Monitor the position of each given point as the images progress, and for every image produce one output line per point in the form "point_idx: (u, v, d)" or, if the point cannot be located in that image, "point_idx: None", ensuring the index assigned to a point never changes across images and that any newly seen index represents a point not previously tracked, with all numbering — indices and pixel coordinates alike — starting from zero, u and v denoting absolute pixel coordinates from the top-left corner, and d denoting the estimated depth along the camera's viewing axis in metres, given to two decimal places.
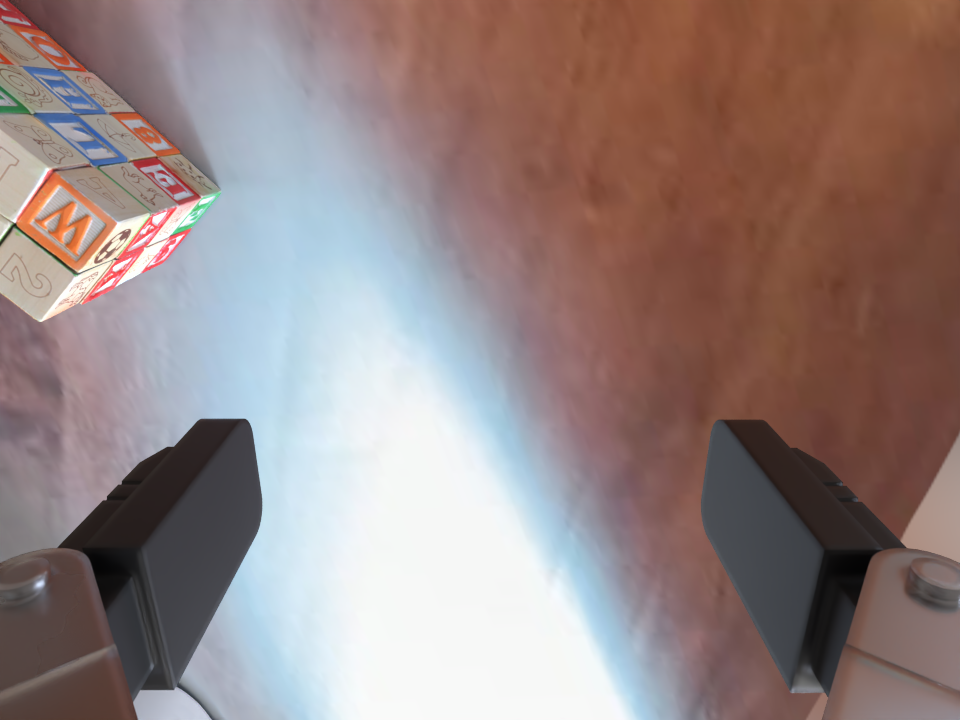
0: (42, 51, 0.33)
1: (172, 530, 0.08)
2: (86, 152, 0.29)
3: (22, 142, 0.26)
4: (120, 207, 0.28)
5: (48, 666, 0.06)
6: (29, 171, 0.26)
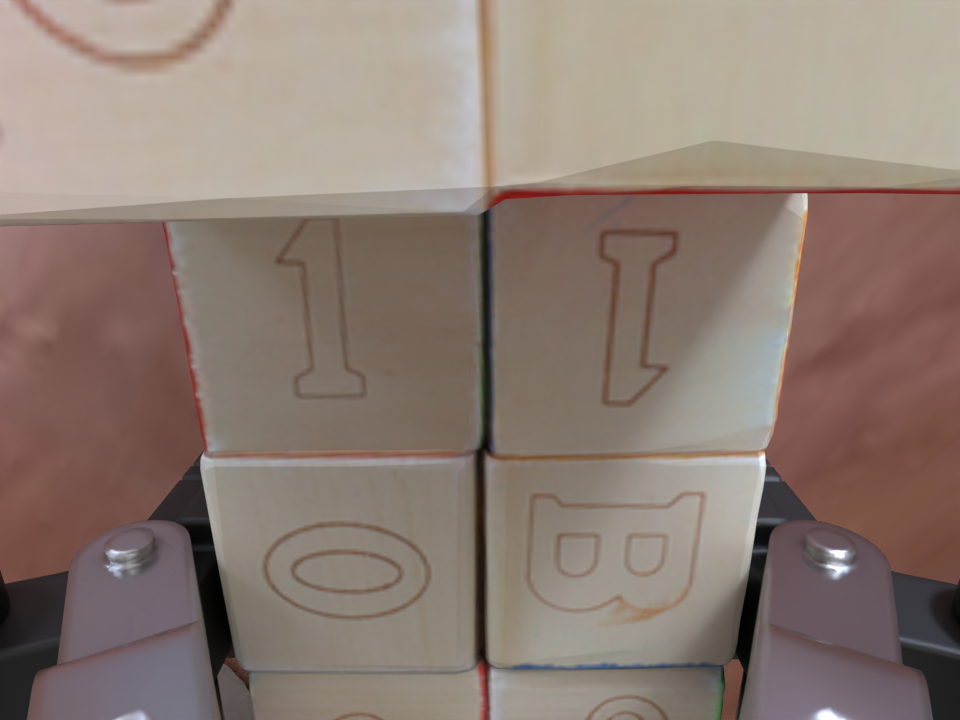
0: None
1: None
2: None
3: None
4: None
5: (143, 633, 0.06)
6: None
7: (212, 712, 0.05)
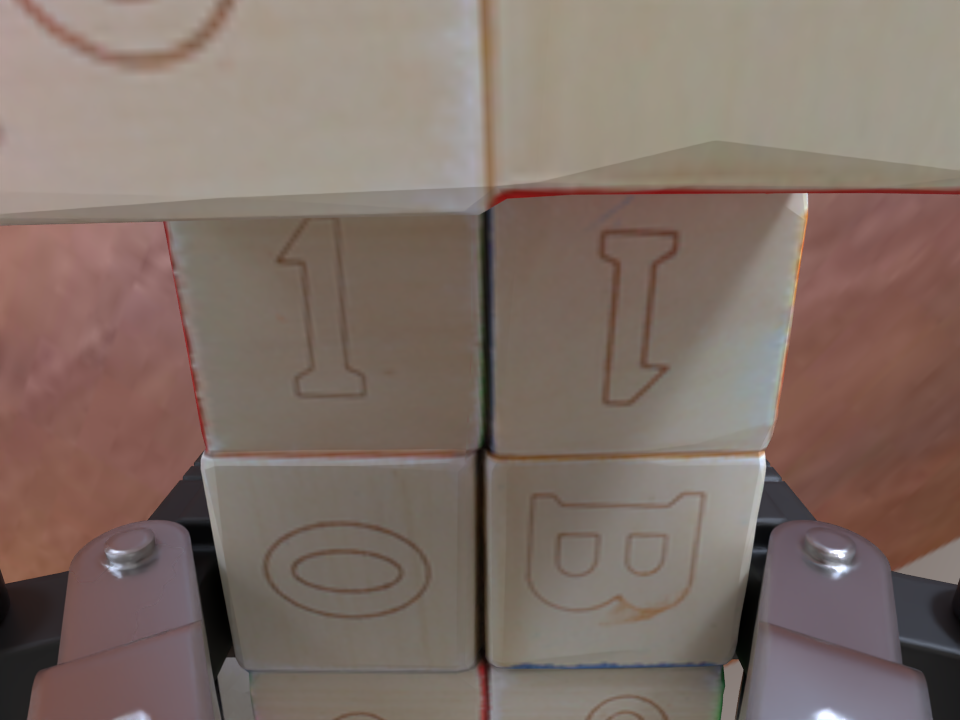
0: None
1: None
2: None
3: None
4: None
5: (143, 633, 0.06)
6: None
7: (212, 712, 0.05)
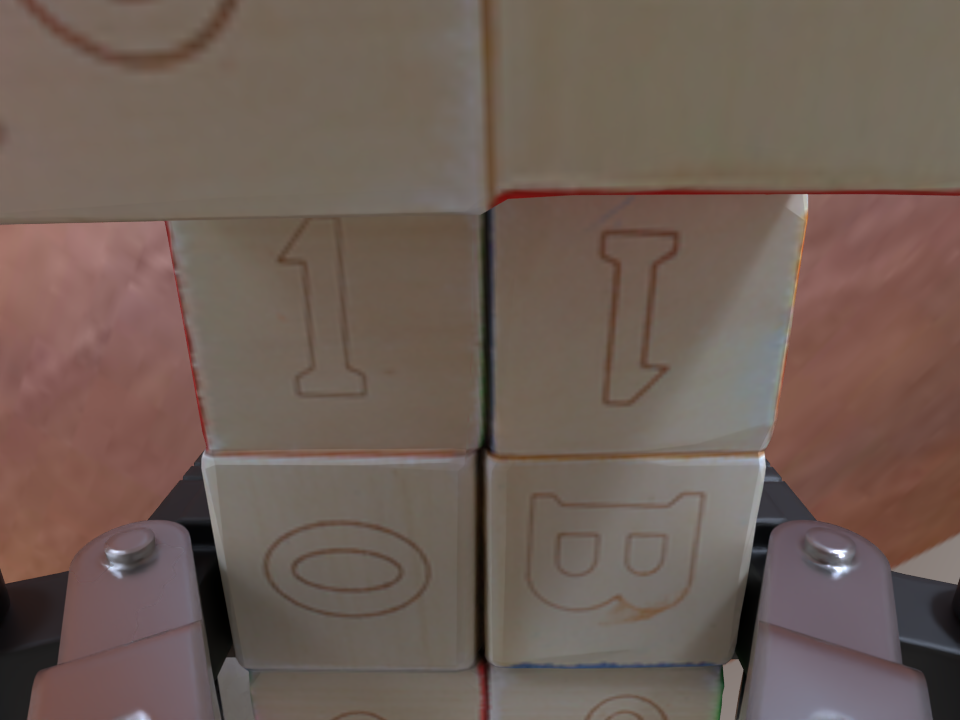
0: None
1: None
2: None
3: None
4: None
5: (143, 633, 0.06)
6: None
7: (213, 712, 0.05)
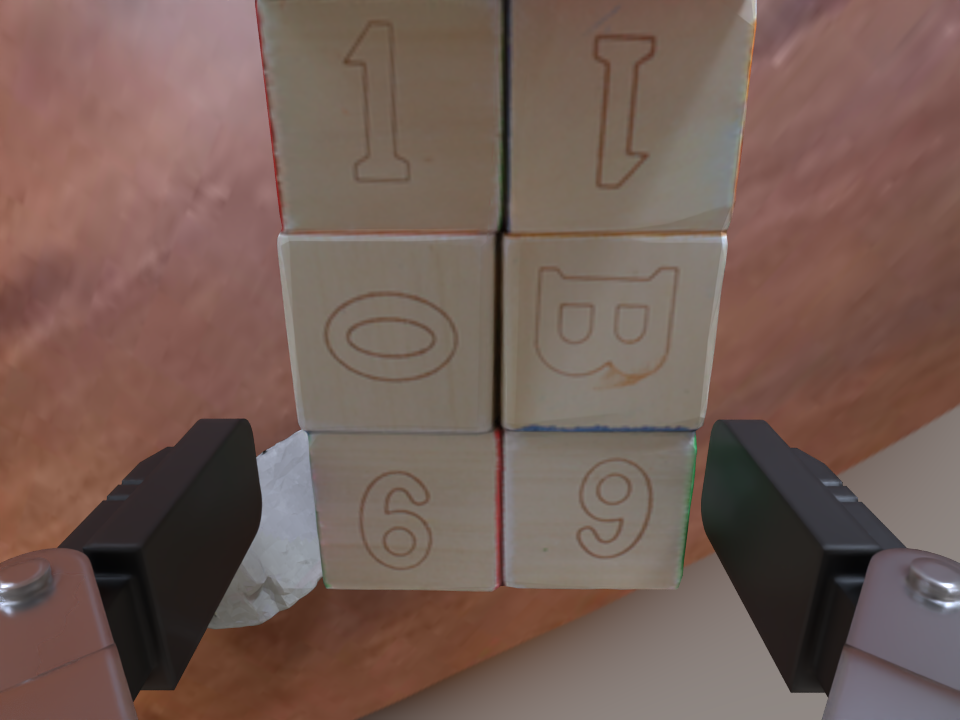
0: None
1: (172, 530, 0.08)
2: None
3: None
4: None
5: (48, 666, 0.06)
6: None
7: None
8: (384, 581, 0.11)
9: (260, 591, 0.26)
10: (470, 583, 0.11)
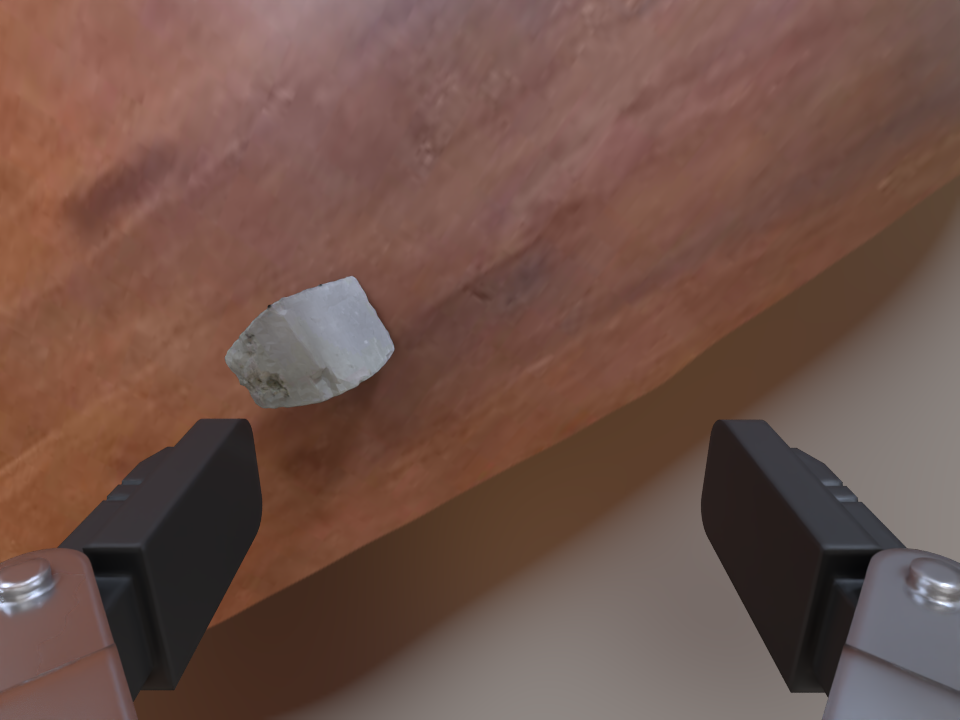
0: None
1: (172, 530, 0.08)
2: None
3: None
4: None
5: (48, 666, 0.06)
6: None
7: None
8: None
9: (320, 379, 0.35)
10: None
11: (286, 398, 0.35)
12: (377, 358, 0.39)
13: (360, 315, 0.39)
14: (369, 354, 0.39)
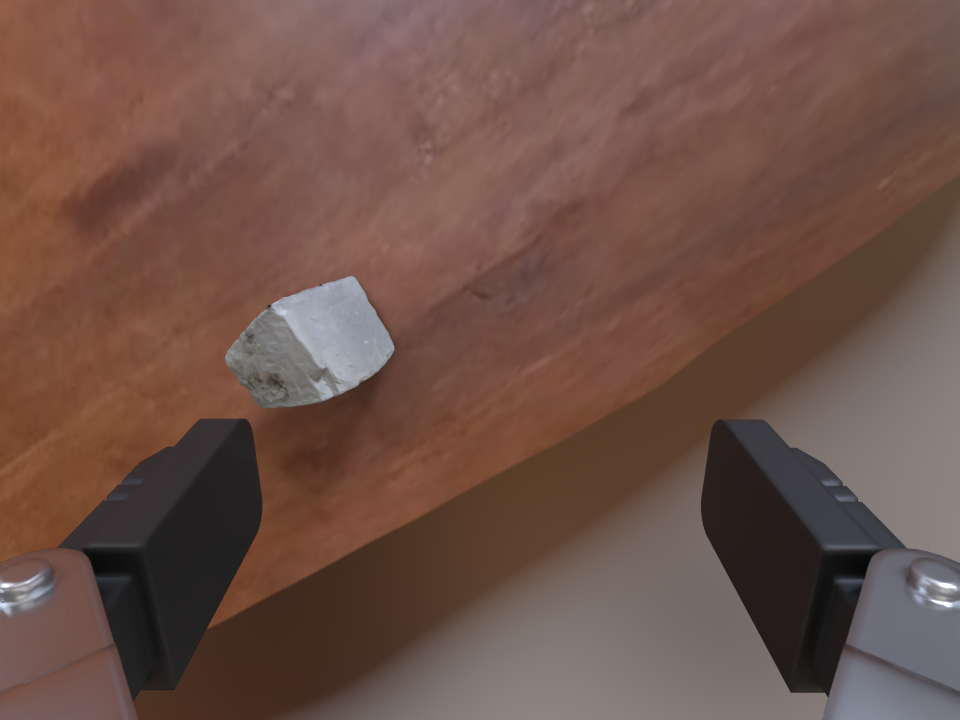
0: None
1: (172, 530, 0.08)
2: None
3: None
4: None
5: (48, 667, 0.06)
6: None
7: None
8: None
9: (320, 379, 0.35)
10: None
11: (286, 398, 0.35)
12: (377, 358, 0.39)
13: (360, 315, 0.39)
14: (369, 354, 0.39)
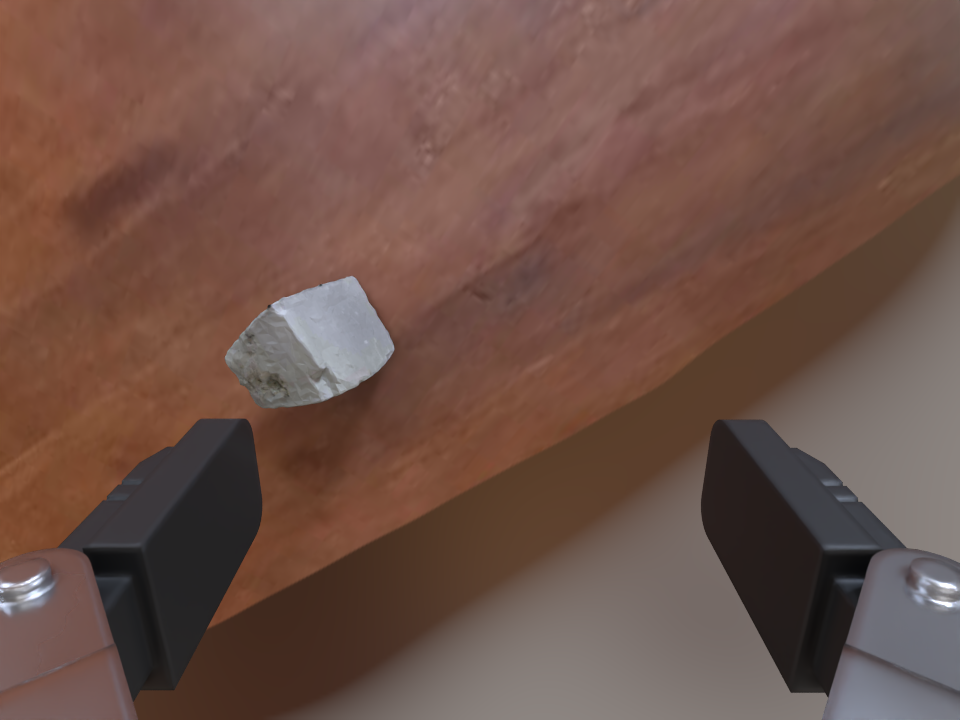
0: None
1: (172, 530, 0.08)
2: None
3: None
4: None
5: (48, 667, 0.06)
6: None
7: None
8: None
9: (320, 379, 0.35)
10: None
11: (286, 398, 0.35)
12: (377, 358, 0.39)
13: (360, 315, 0.39)
14: (369, 354, 0.39)
